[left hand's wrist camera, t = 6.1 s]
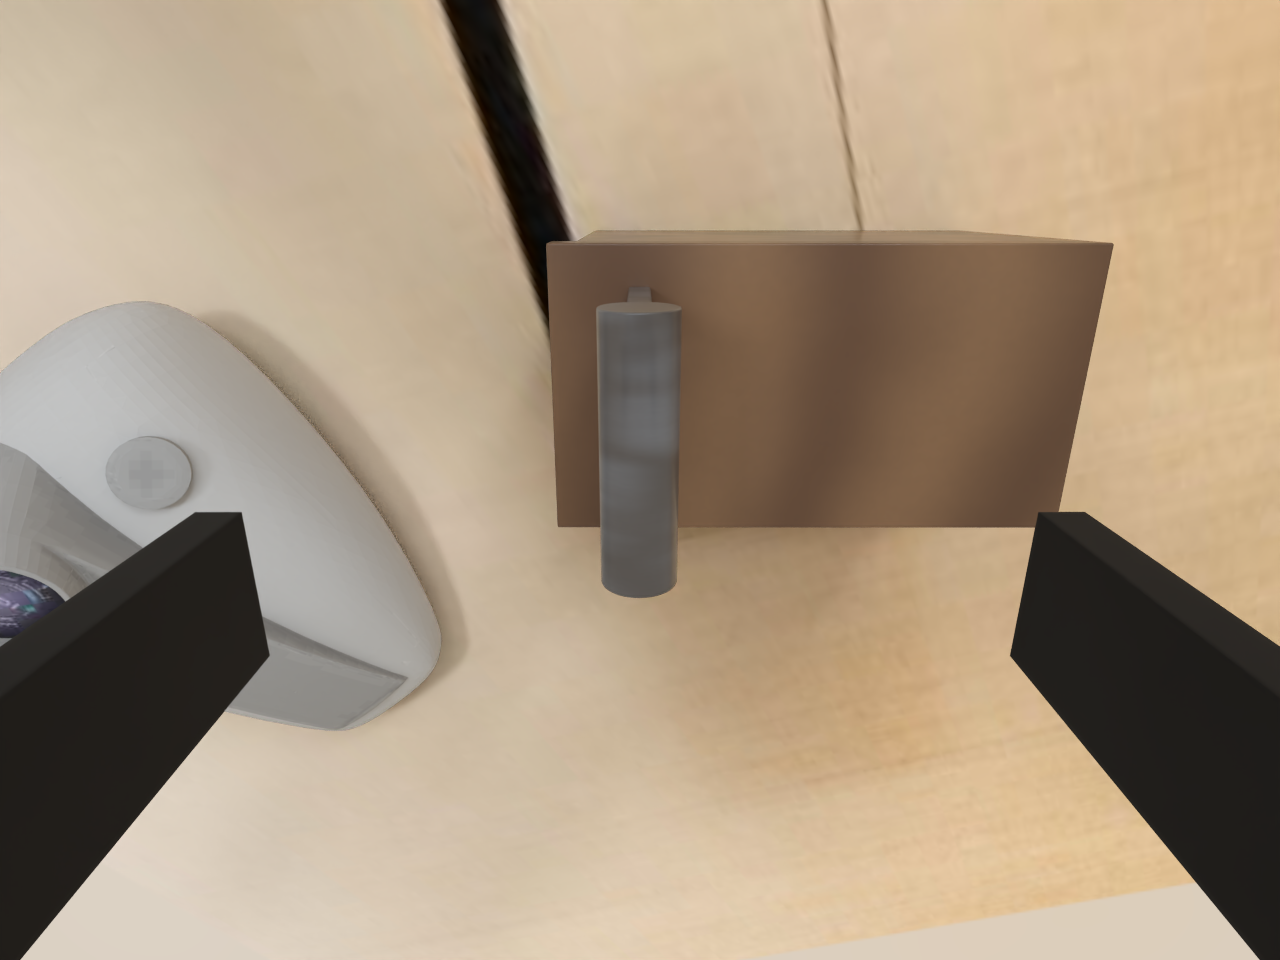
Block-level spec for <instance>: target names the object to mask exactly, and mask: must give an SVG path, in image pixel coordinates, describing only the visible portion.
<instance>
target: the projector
mask: <svg viewBox="0 0 1280 960" xmlns="http://www.w3.org/2000/svg"><path fill="white" fill-rule="evenodd" d="M195 512H242V516H243V521H244V526H245V531H246V536H247V542H248V547H249V552H250V557H251V562H252V567H253V572H254V577H255V582H256V587H257V592H258V598H259V603H260V608H261V613H262V618H263V623H264V628H265V633H266V638H267V643H268V649H269V654H270V656H269V658H268V659H267V660H266V661H265V662H264V664H263V665H262V666H261V667H260V669H259V670H258V671H257V672H256V673H255V675H254V676H253V677H252V678H251V679H250V681H249V682H248V683H247V684H246V686H245V687H244V688H243V689H242V690H241V692H240V693H239V694H238V695H237V697H236V698H235V699H234V700H233V701H232V703H231V704H230V705H229V706H228V707H227V709H226V710H225V711H224V712H229V713H233V714H238V715H242V716H247V717H251V718H256V719H260V720H265V721H270V722H276V723H281V724H287V725H292V726H298V727H303V728H311V729H319V730H326V731H343V730H348V729H353V728H355V727H358V726H360V725H363V724H365V723H367V722H369V721H370V720H372V719H374V718H376V717H377V716H379V715H381V714H382V713H383V712H385V711H386V710H388V709H389V708H391V707H392V706H394V705H395V704H396V703H398V702H399V701H400V700H402V699H403V698H404V697H406V696H407V695H408V694H410V693H411V692H412V691H413V690H414V689H416V688H417V687H418V686H419V685H420V684H421V683H422V682H423V681H424V680H425V679H426V678H427V677H428V676H429V675H430V673H431V672H432V671H433V669H434V667H435V665H436V663H437V661H438V658H439V654H440V650H441V632H440V628H439V624H438V621H437V619H436V616H435V614H434V611H433V608H432V606H431V604H430V602H429V600H428V597H427V595H426V593H425V591H424V589H423V587H422V585H421V583H420V581H419V579H418V577H417V576H416V574H415V572H414V570H413V568H412V566H411V564H410V562H409V560H408V559H407V557H406V555H405V554H404V552H403V550H402V549H401V547H400V545H399V544H398V542H397V540H396V538H395V537H394V535H393V533H392V532H391V530H390V529H389V527H388V526H387V524H386V522H385V521H384V519H383V518H382V516H381V515H380V513H379V512H378V510H377V509H376V507H375V506H374V504H373V503H372V502H371V500H370V499H369V497H368V496H367V494H366V493H365V492H364V490H363V489H362V487H361V486H360V485H359V483H358V482H357V481H356V479H355V478H354V477H353V476H352V474H351V473H350V472H349V470H348V469H347V468H346V466H345V465H344V464H343V463H342V461H341V460H340V459H339V457H338V456H337V455H336V454H335V452H334V451H333V450H332V449H331V448H330V446H329V445H328V444H327V443H326V442H325V440H324V439H323V438H322V437H321V436H320V434H319V433H318V432H317V431H316V430H315V428H314V427H313V426H312V425H311V424H310V423H309V422H308V421H307V419H306V418H305V417H304V416H303V415H302V414H301V413H300V412H299V410H298V409H297V408H296V407H295V406H294V405H293V404H292V403H291V402H290V401H289V399H288V398H287V397H286V396H285V395H284V394H283V393H282V392H281V391H280V390H279V389H278V388H277V387H276V386H275V385H274V384H273V383H272V382H271V380H270V379H269V378H268V377H267V376H266V375H265V374H264V373H262V372H261V371H260V370H259V369H258V368H257V367H256V366H255V365H254V364H253V363H252V362H251V361H250V360H249V359H248V358H247V357H246V356H245V355H244V354H243V353H241V352H240V351H239V350H238V349H237V348H236V347H235V346H233V345H232V344H231V343H230V342H229V341H228V340H227V339H225V338H224V337H223V336H221V335H220V334H219V333H217V332H216V331H215V330H213V329H212V328H211V327H209V326H208V325H207V324H205V323H203V322H202V321H200V320H198V319H197V318H195V317H194V316H192V315H190V314H188V313H186V312H184V311H181V310H179V309H177V308H174V307H171V306H168V305H164V304H159V303H154V302H146V301H137V302H126V303H120V304H115V305H111V306H107V307H103V308H100V309H97V310H94V311H91V312H88V313H86V314H84V315H81V316H79V317H77V318H74V319H72V320H71V321H69V322H67V323H65V324H63V325H61V326H60V327H58V328H57V329H55V330H54V331H52V332H50V333H49V334H47V335H46V336H45V337H43V338H42V339H41V340H39V341H38V342H37V343H35V344H34V345H33V346H31V347H30V348H29V349H27V350H26V351H25V352H24V353H23V354H21V355H20V356H19V357H18V358H16V359H15V360H14V361H13V362H12V363H10V364H9V365H8V366H7V367H6V368H5V369H4V370H3V371H1V372H0V646H2V645H3V644H5V643H6V642H8V641H9V640H10V639H12V638H13V637H15V636H16V635H18V634H19V633H21V632H22V631H23V630H25V629H26V628H28V627H29V626H31V625H32V624H34V623H35V622H37V621H38V620H39V619H41V618H42V617H44V616H45V615H47V614H48V613H50V612H51V611H52V610H54V609H55V608H57V607H58V606H60V605H61V604H63V603H64V602H66V601H67V600H68V599H70V598H71V597H73V596H74V595H76V594H77V593H79V592H80V591H81V590H83V589H84V588H86V587H87V586H89V585H90V584H92V583H93V582H95V581H96V580H97V579H99V578H100V577H102V576H103V575H105V574H106V573H108V572H109V571H110V570H112V569H113V568H115V567H116V566H118V565H119V564H121V563H122V562H124V561H125V560H126V559H128V558H129V557H131V556H132V555H134V554H135V553H137V552H138V551H139V550H141V549H142V548H144V547H145V546H147V545H148V544H150V543H151V542H153V541H154V540H155V539H157V538H158V537H160V536H161V535H163V534H164V533H166V532H167V531H168V530H170V529H171V528H173V527H174V526H176V525H177V524H179V523H180V522H181V521H183V520H184V519H186V518H187V517H189V516H190V515H192V514H193V513H195Z"/></svg>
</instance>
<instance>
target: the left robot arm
mask: <svg viewBox="0 0 1280 960" xmlns="http://www.w3.org/2000/svg"><path fill="white" fill-rule="evenodd" d="M269 656H270V654H269V649H268V643H267V638H266V633H265V628H264V623H263V618H262V613H261V608H260V603H259V598H258V592H257V587H256V582H255V577H254V572H253V567H252V562H251V557H250V552H249V547H248V542H247V536H246V531H245V526H244V521H243V516H242V512H195V513H193V514H192V515H190V516H189V517H187V518H186V519H184V520H183V521H181V522H180V523H179V524H177V525H176V526H174V527H173V528H171V529H170V530H168V531H167V532H166V533H164V534H163V535H161V536H160V537H158V538H157V539H155V540H154V541H153V542H151V543H150V544H148V545H147V546H145V547H144V548H142V549H141V550H139V551H138V552H137V553H135V554H134V555H132V556H131V557H129V558H128V559H126V560H125V561H124V562H122V563H121V564H119V565H118V566H116V567H115V568H113V569H112V570H110V571H109V572H108V573H106V574H105V575H103V576H102V577H100V578H99V579H97V580H96V581H95V582H93V583H92V584H90V585H89V586H87V587H86V588H84V589H83V590H81V591H80V592H79V593H77V594H76V595H74V596H73V597H71V598H70V599H68V600H67V601H66V602H64V603H63V604H61V605H60V606H58V607H57V608H55V609H54V610H52V611H51V612H50V613H48V614H47V615H45V616H44V617H42V618H41V619H39V620H38V621H37V622H35V623H34V624H32V625H31V626H29V627H28V628H26V629H25V630H23V631H22V632H21V633H19V634H18V635H16V636H15V637H13V638H12V639H10V640H9V641H8V642H6V643H5V644H3V645H2V646H0V960H20V959H21V958H22V957H23V956H24V955H25V953H26V952H27V951H28V950H29V948H30V947H31V946H32V945H33V944H34V942H35V941H36V940H37V939H38V938H39V936H40V935H41V934H42V933H43V931H44V930H45V929H46V928H47V927H48V925H49V924H50V923H51V922H52V921H53V919H54V918H55V917H56V916H57V914H58V913H59V912H60V911H61V910H62V908H63V907H64V906H65V905H66V903H67V902H68V901H69V900H70V899H71V897H72V896H73V895H74V894H75V893H76V891H77V890H78V889H79V888H80V886H81V885H82V884H83V883H84V882H85V880H86V879H87V878H88V877H89V875H90V874H91V873H92V872H93V871H94V869H95V868H96V867H97V866H98V865H99V863H100V862H101V861H102V860H103V858H104V857H105V856H106V855H107V854H108V852H109V851H110V850H111V849H112V847H113V846H114V845H115V844H116V843H117V841H118V840H119V839H120V838H121V837H122V835H123V834H124V833H125V832H126V830H127V829H128V828H129V827H130V826H131V824H132V823H133V822H134V821H135V819H136V818H137V817H138V816H139V815H140V813H141V812H142V811H143V810H144V809H145V807H146V806H147V805H148V804H149V802H150V801H151V800H152V799H153V798H154V796H155V795H156V794H157V793H158V791H159V790H160V789H161V788H162V787H163V785H164V784H165V783H166V782H167V781H168V779H169V778H170V777H171V776H172V774H173V773H174V772H175V771H176V770H177V768H178V767H179V766H180V765H181V763H182V762H183V761H184V760H185V759H186V757H187V756H188V755H189V754H190V753H191V751H192V750H193V749H194V748H195V746H196V745H197V744H198V743H199V742H200V740H201V739H202V738H203V737H204V735H205V734H206V733H207V732H208V731H209V729H210V728H211V727H212V726H213V725H214V723H215V722H216V721H217V720H218V718H219V717H220V716H221V715H222V714H223V712H224V711H225V710H226V709H227V707H228V706H229V705H230V704H231V703H232V701H233V700H234V699H235V698H236V697H237V695H238V694H239V693H240V692H241V690H242V689H243V688H244V687H245V686H246V684H247V683H248V682H249V681H250V679H251V678H252V677H253V676H254V675H255V673H256V672H257V671H258V670H259V669H260V667H261V666H262V665H263V664H264V662H265V661H266V660H267V659H268V658H269ZM1010 656H1011V658H1012V659H1013V660H1014V661H1015V662H1016V664H1017V665H1018V666H1019V667H1020V669H1021V670H1022V671H1023V672H1024V673H1025V675H1026V676H1027V677H1028V678H1029V679H1030V681H1031V682H1032V683H1033V684H1034V686H1035V687H1036V688H1037V689H1038V690H1039V692H1040V693H1041V694H1042V695H1043V697H1044V698H1045V699H1046V700H1047V701H1048V703H1049V704H1050V705H1051V706H1052V707H1053V709H1054V710H1055V711H1056V712H1057V714H1058V715H1059V716H1060V717H1061V718H1062V720H1063V721H1064V722H1065V723H1066V725H1067V726H1068V727H1069V728H1070V729H1071V731H1072V732H1073V733H1074V734H1075V735H1076V737H1077V738H1078V739H1079V740H1080V742H1081V743H1082V744H1083V745H1084V746H1085V748H1086V749H1087V750H1088V751H1089V753H1090V754H1091V755H1092V756H1093V757H1094V759H1095V760H1096V761H1097V762H1098V763H1099V765H1100V766H1101V767H1102V768H1103V770H1104V771H1105V772H1106V773H1107V774H1108V776H1109V777H1110V778H1111V779H1112V781H1113V782H1114V783H1115V784H1116V785H1117V787H1118V788H1119V789H1120V790H1121V791H1122V793H1123V794H1124V795H1125V796H1126V798H1127V799H1128V800H1129V801H1130V802H1131V804H1132V805H1133V806H1134V807H1135V809H1136V810H1137V811H1138V812H1139V813H1140V815H1141V816H1142V817H1143V818H1144V819H1145V821H1146V822H1147V823H1148V824H1149V826H1150V827H1151V828H1152V829H1153V830H1154V832H1155V833H1156V834H1157V835H1158V837H1159V838H1160V839H1161V840H1162V841H1163V843H1164V844H1165V845H1166V846H1167V847H1168V849H1169V850H1170V851H1171V852H1172V854H1173V855H1174V856H1175V857H1176V858H1177V860H1178V861H1179V862H1180V863H1181V865H1182V866H1183V867H1184V868H1185V869H1186V871H1187V872H1188V873H1189V874H1190V875H1191V877H1192V878H1193V879H1194V880H1195V882H1196V883H1197V884H1198V885H1199V886H1200V888H1201V889H1202V890H1203V891H1204V893H1205V894H1206V895H1207V896H1208V897H1209V899H1210V900H1211V901H1212V902H1213V903H1214V905H1215V906H1216V907H1217V908H1218V910H1219V911H1220V912H1221V913H1222V914H1223V916H1224V917H1225V918H1226V919H1227V920H1228V922H1229V923H1230V924H1231V925H1232V927H1233V928H1234V929H1235V930H1236V931H1237V933H1238V934H1239V935H1240V936H1241V938H1242V939H1243V940H1244V941H1245V942H1246V944H1247V945H1248V946H1249V947H1250V949H1251V950H1252V951H1253V952H1254V953H1255V955H1256V956H1257V957H1258V958H1259V959H1260V960H1280V646H1278V645H1277V644H1275V643H1274V642H1272V641H1271V640H1270V639H1268V638H1267V637H1265V636H1264V635H1262V634H1261V633H1259V632H1258V631H1257V630H1255V629H1254V628H1252V627H1251V626H1249V625H1248V624H1246V623H1245V622H1243V621H1242V620H1241V619H1239V618H1238V617H1236V616H1235V615H1233V614H1232V613H1230V612H1229V611H1228V610H1226V609H1225V608H1223V607H1222V606H1220V605H1219V604H1217V603H1216V602H1214V601H1213V600H1212V599H1210V598H1209V597H1207V596H1206V595H1204V594H1203V593H1201V592H1200V591H1199V590H1197V589H1196V588H1194V587H1193V586H1191V585H1190V584H1188V583H1187V582H1185V581H1184V580H1183V579H1181V578H1180V577H1178V576H1177V575H1175V574H1174V573H1172V572H1171V571H1170V570H1168V569H1167V568H1165V567H1164V566H1162V565H1161V564H1159V563H1158V562H1156V561H1155V560H1154V559H1152V558H1151V557H1149V556H1148V555H1146V554H1145V553H1143V552H1142V551H1141V550H1139V549H1138V548H1136V547H1135V546H1133V545H1132V544H1130V543H1129V542H1127V541H1126V540H1125V539H1123V538H1122V537H1120V536H1119V535H1117V534H1116V533H1114V532H1113V531H1112V530H1110V529H1109V528H1107V527H1106V526H1104V525H1103V524H1101V523H1100V522H1098V521H1097V520H1096V519H1094V518H1093V517H1091V516H1090V515H1088V514H1087V513H1085V512H1038V516H1037V521H1036V526H1035V531H1034V536H1033V542H1032V547H1031V552H1030V557H1029V562H1028V567H1027V572H1026V577H1025V582H1024V587H1023V592H1022V598H1021V603H1020V608H1019V613H1018V618H1017V623H1016V628H1015V633H1014V638H1013V643H1012V649H1011V654H1010Z"/></svg>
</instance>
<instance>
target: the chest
mask: <svg viewBox="0 0 1280 960" xmlns="http://www.w3.org/2000/svg"><path fill="white" fill-rule="evenodd" d="M578 241H1080V240H1068V239H1055V238H1043V237H1030V236H1018V235H1006V234H993V233H981V232H968V231H595V232H593V233H591V234H589V235H587V236H586V237H584V238H582V239H580V240H578Z"/></svg>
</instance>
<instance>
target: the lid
mask: <svg viewBox="0 0 1280 960" xmlns="http://www.w3.org/2000/svg"><path fill="white" fill-rule="evenodd" d="M546 249H547V273H548V298H549V322H550V347H551V372H552V396H553V421H554V446H555V470H556V495H557V519H558V527H600V533H601V581H602V584H603V585H604V587H605V588H606V589H607V590H609V591H610V592H612V593H615V594H617V595H620V596H625V597H632V598H647V597H654V596H658V595H661V594H664V593H666V592H668V591H670V590H671V589H672V588H673V587H674V586H675V584H676V582H677V548H678V527H1035V526H1036V521H1037V516H1038V512H1058V511H1059V506H1060V502H1061V497H1062V492H1063V487H1064V482H1065V477H1066V473H1067V468H1068V463H1069V458H1070V453H1071V448H1072V444H1073V439H1074V434H1075V429H1076V424H1077V419H1078V414H1079V410H1080V405H1081V400H1082V395H1083V390H1084V385H1085V381H1086V376H1087V371H1088V366H1089V361H1090V356H1091V351H1092V347H1093V342H1094V337H1095V332H1096V327H1097V322H1098V318H1099V313H1100V308H1101V303H1102V298H1103V293H1104V289H1105V284H1106V279H1107V274H1108V269H1109V264H1110V259H1111V255H1112V250H1113V243H1105V242H1093V241H552V242H549V243H547V245H546Z"/></svg>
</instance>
